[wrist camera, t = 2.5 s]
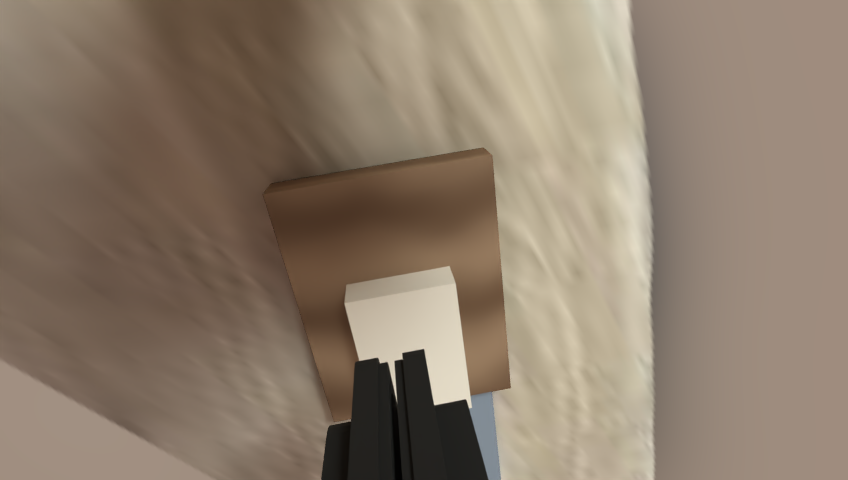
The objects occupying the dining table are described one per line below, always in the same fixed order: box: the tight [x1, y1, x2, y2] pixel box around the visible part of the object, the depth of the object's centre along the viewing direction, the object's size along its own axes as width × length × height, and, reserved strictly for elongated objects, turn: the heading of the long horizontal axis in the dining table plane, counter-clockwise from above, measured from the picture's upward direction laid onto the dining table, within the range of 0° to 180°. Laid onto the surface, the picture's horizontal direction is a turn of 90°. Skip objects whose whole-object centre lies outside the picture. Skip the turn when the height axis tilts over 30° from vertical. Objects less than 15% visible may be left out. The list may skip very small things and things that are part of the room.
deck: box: [263, 148, 511, 422], centre depth 27 cm, size 16×12×2 cm
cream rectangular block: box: [344, 266, 472, 408], centre depth 26 cm, size 9×6×2 cm, turn 9°
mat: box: [469, 392, 501, 480], centre depth 33 cm, size 11×10×1 cm
